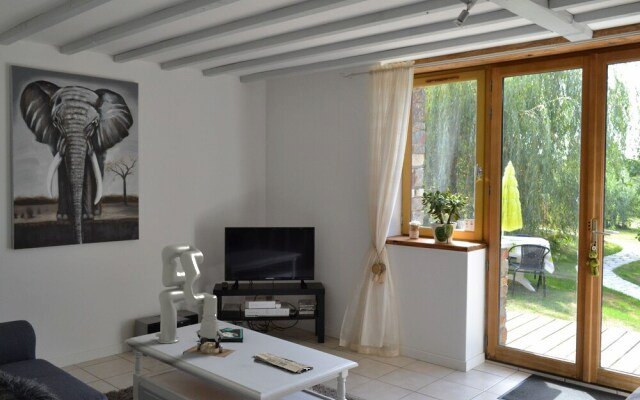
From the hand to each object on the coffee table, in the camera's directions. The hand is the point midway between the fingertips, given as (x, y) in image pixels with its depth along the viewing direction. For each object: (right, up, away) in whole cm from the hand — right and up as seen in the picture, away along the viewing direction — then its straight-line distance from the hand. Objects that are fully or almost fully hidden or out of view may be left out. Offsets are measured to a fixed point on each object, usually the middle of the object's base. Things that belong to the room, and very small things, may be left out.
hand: (209, 347), depth 328 cm
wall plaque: (+4, -3, +30) cm, 30 cm away
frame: (0, -2, 0) cm, 2 cm away
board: (0, -4, 0) cm, 4 cm away
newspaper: (+41, -6, -16) cm, 45 cm away
